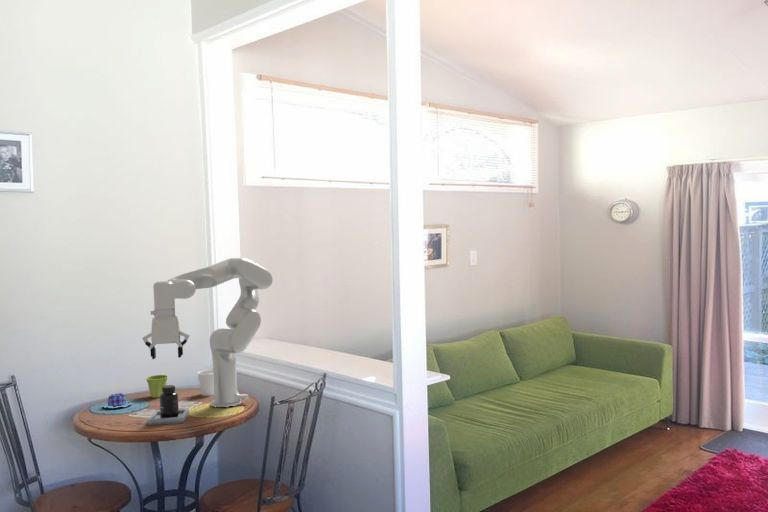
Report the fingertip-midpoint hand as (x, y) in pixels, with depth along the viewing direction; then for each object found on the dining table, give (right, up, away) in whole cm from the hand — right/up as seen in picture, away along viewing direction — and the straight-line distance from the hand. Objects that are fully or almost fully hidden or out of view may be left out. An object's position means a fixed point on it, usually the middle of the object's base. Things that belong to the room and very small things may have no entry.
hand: (167, 357), depth 257 cm
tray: (+1, -24, +1) cm, 24 cm away
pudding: (-29, -25, +24) cm, 44 cm away
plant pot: (-17, -23, +39) cm, 49 cm away
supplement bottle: (+1, -23, +1) cm, 23 cm away
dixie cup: (+5, -23, +41) cm, 47 cm away
